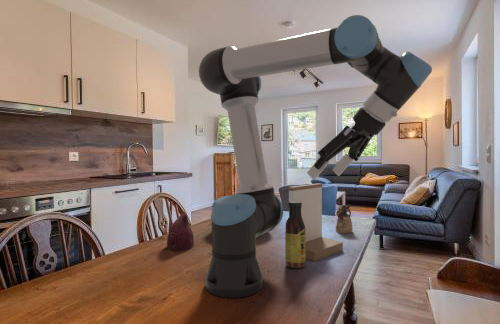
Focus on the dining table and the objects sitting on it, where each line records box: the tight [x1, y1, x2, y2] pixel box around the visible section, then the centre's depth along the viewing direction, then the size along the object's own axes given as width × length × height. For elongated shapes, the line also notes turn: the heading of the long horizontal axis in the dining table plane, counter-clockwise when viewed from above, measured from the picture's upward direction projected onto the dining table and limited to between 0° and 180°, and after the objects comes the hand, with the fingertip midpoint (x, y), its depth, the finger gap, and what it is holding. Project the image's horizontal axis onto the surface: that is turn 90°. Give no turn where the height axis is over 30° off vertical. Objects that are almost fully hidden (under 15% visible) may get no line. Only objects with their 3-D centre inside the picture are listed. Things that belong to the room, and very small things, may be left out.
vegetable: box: [166, 211, 195, 252], centre depth 112 cm, size 10×10×15 cm
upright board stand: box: [287, 182, 344, 262], centre depth 105 cm, size 17×11×23 cm, turn 130°
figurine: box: [335, 203, 353, 234], centre depth 132 cm, size 7×7×12 cm
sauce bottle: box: [284, 201, 307, 269], centre depth 93 cm, size 6×6×20 cm
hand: (323, 174), depth 85 cm, fingers open, 13 cm apart
